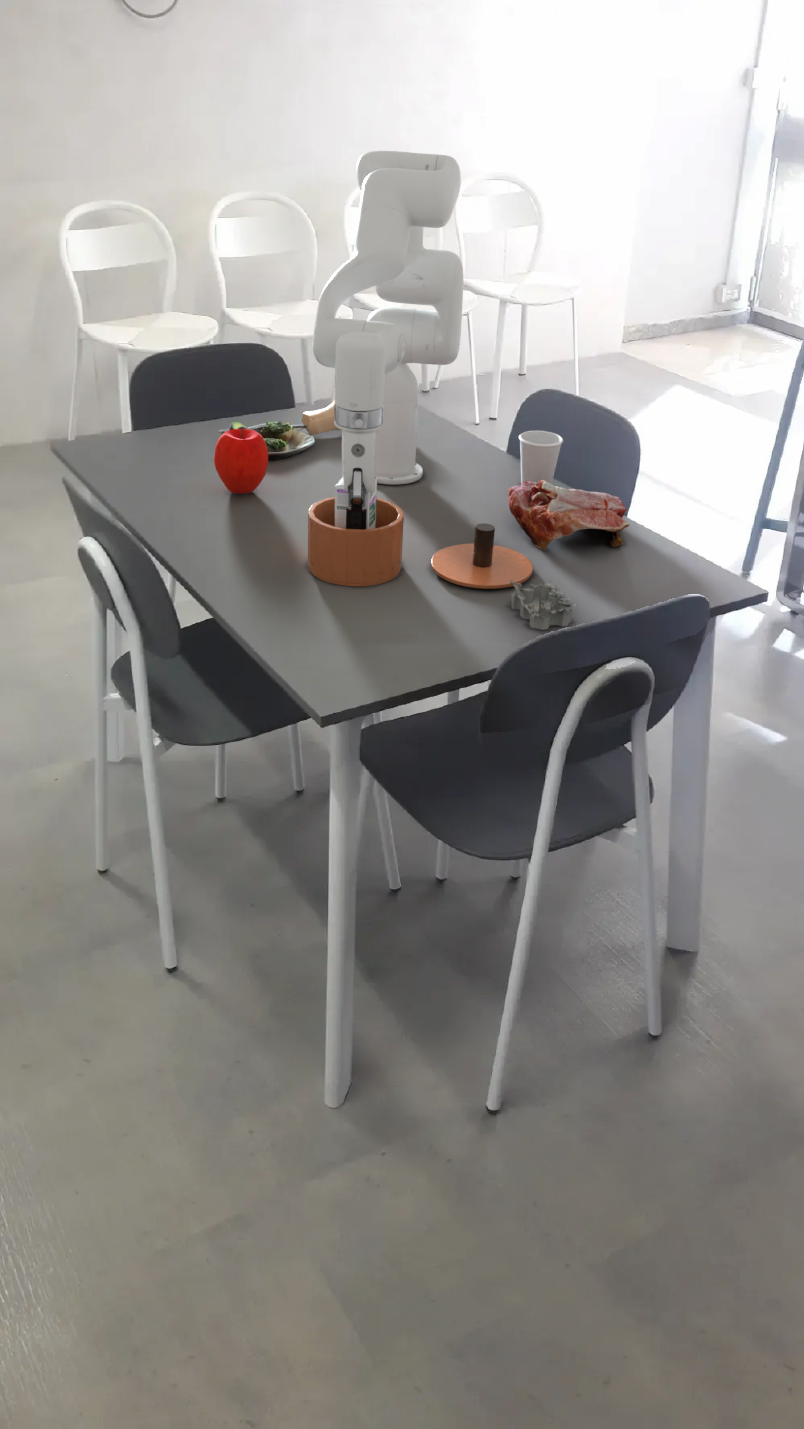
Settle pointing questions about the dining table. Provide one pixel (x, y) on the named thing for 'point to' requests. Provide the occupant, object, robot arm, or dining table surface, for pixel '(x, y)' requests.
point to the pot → (355, 546)
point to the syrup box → (342, 504)
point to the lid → (482, 562)
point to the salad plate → (279, 438)
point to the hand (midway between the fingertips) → (355, 523)
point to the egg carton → (542, 605)
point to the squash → (320, 420)
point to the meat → (564, 512)
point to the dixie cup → (539, 455)
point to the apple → (241, 460)
